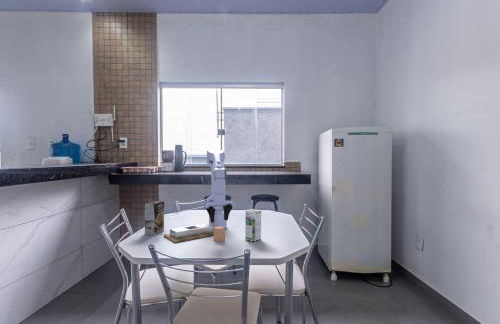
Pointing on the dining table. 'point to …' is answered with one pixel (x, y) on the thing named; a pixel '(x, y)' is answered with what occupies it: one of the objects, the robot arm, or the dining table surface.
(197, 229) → the white square hole block
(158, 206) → the coffee box
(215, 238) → the peg
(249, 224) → the syrup box
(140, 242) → the dining table surface
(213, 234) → the board
